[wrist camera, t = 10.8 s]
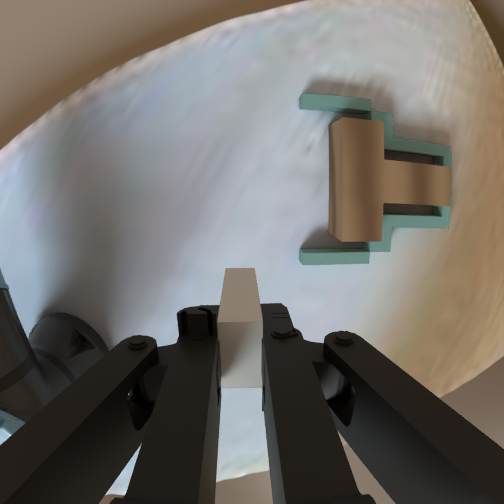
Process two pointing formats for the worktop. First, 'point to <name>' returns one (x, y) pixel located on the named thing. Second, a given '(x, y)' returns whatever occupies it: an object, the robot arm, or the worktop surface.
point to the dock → (389, 219)
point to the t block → (374, 181)
